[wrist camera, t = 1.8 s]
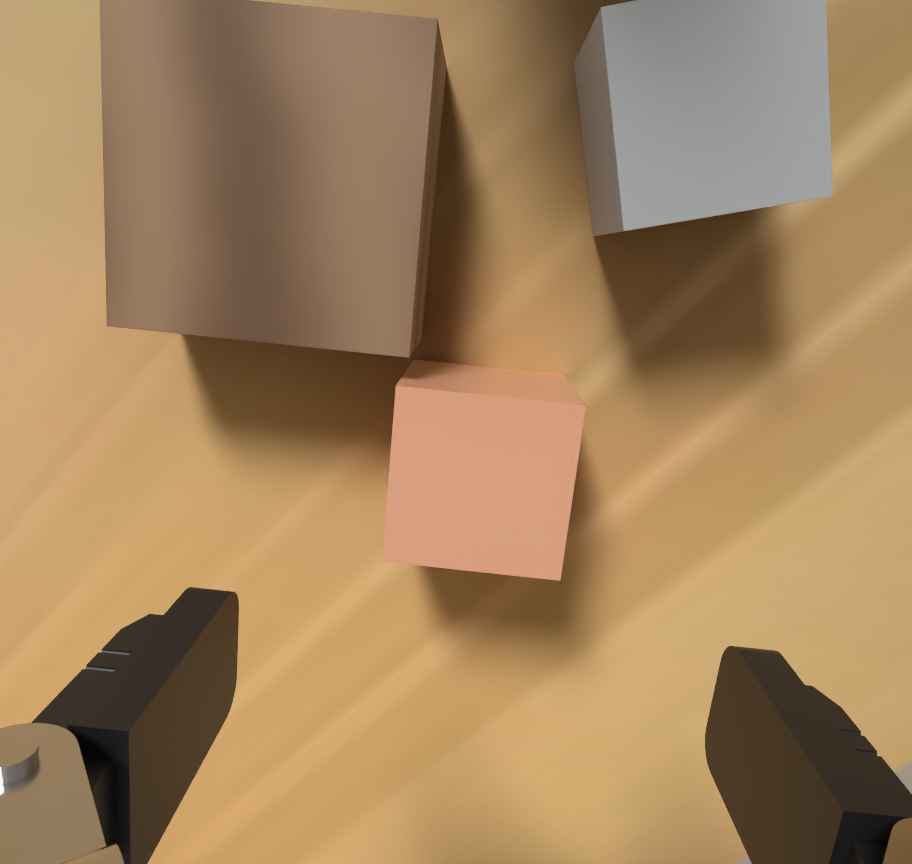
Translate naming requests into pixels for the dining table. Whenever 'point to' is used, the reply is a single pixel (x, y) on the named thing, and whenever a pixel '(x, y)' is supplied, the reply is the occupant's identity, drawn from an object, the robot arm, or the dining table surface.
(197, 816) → the dining table surface
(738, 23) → the slate cube
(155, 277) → the walnut base block
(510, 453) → the terracotta cube
